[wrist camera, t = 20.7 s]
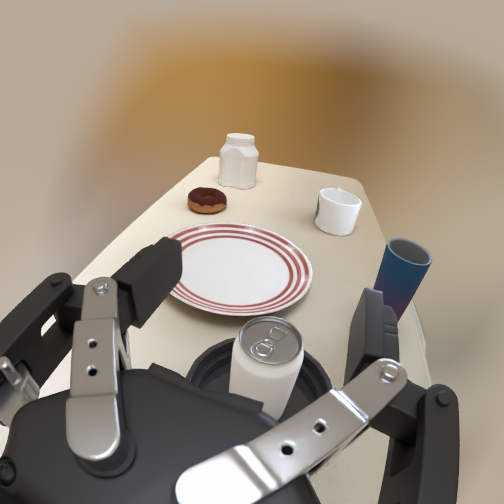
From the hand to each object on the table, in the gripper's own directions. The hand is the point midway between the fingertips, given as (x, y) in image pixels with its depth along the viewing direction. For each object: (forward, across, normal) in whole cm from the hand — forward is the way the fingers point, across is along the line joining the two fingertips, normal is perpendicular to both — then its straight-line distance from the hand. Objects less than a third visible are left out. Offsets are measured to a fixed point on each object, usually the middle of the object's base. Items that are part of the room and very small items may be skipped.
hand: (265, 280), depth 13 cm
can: (+8, 0, +24) cm, 26 cm away
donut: (+55, +28, +25) cm, 66 cm away
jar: (+76, +27, +25) cm, 84 cm away
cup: (+26, -14, +25) cm, 39 cm away
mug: (+62, -4, +25) cm, 67 cm away
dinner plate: (+32, +12, +25) cm, 42 cm away
